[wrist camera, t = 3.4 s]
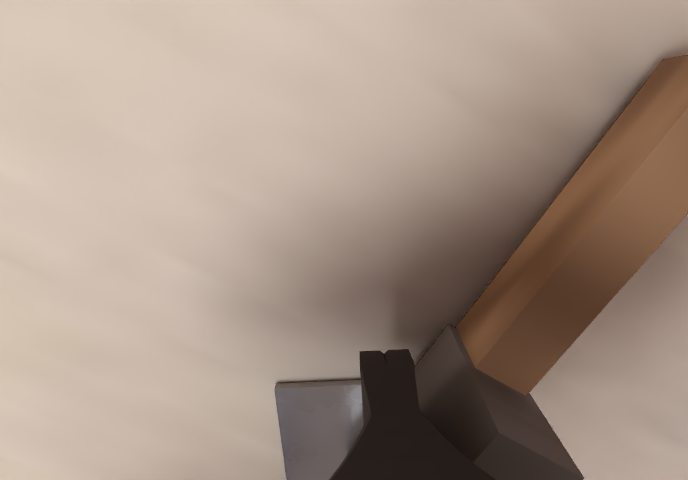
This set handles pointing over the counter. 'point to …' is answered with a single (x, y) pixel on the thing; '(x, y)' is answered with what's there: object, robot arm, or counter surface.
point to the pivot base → (318, 425)
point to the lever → (560, 287)
